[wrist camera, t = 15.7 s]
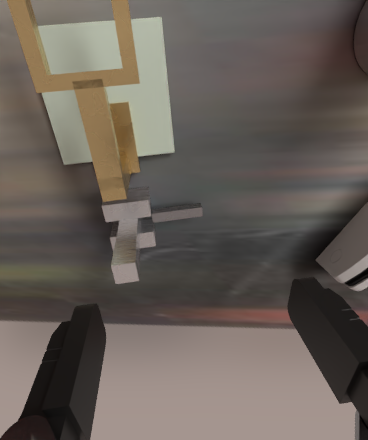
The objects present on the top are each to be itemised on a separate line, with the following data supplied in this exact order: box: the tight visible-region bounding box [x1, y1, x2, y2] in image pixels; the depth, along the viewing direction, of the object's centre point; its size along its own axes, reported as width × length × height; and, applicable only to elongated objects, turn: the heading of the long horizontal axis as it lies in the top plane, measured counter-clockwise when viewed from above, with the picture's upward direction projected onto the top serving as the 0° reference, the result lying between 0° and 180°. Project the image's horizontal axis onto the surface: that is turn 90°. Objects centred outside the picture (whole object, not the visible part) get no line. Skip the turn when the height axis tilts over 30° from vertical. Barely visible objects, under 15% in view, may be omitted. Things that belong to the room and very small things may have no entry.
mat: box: [38, 17, 175, 165], centre depth 26 cm, size 12×12×1 cm
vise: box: [102, 187, 203, 284], centre depth 27 cm, size 6×11×12 cm, turn 95°
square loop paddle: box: [7, 0, 140, 202], centre depth 22 cm, size 16×7×8 cm, turn 5°
